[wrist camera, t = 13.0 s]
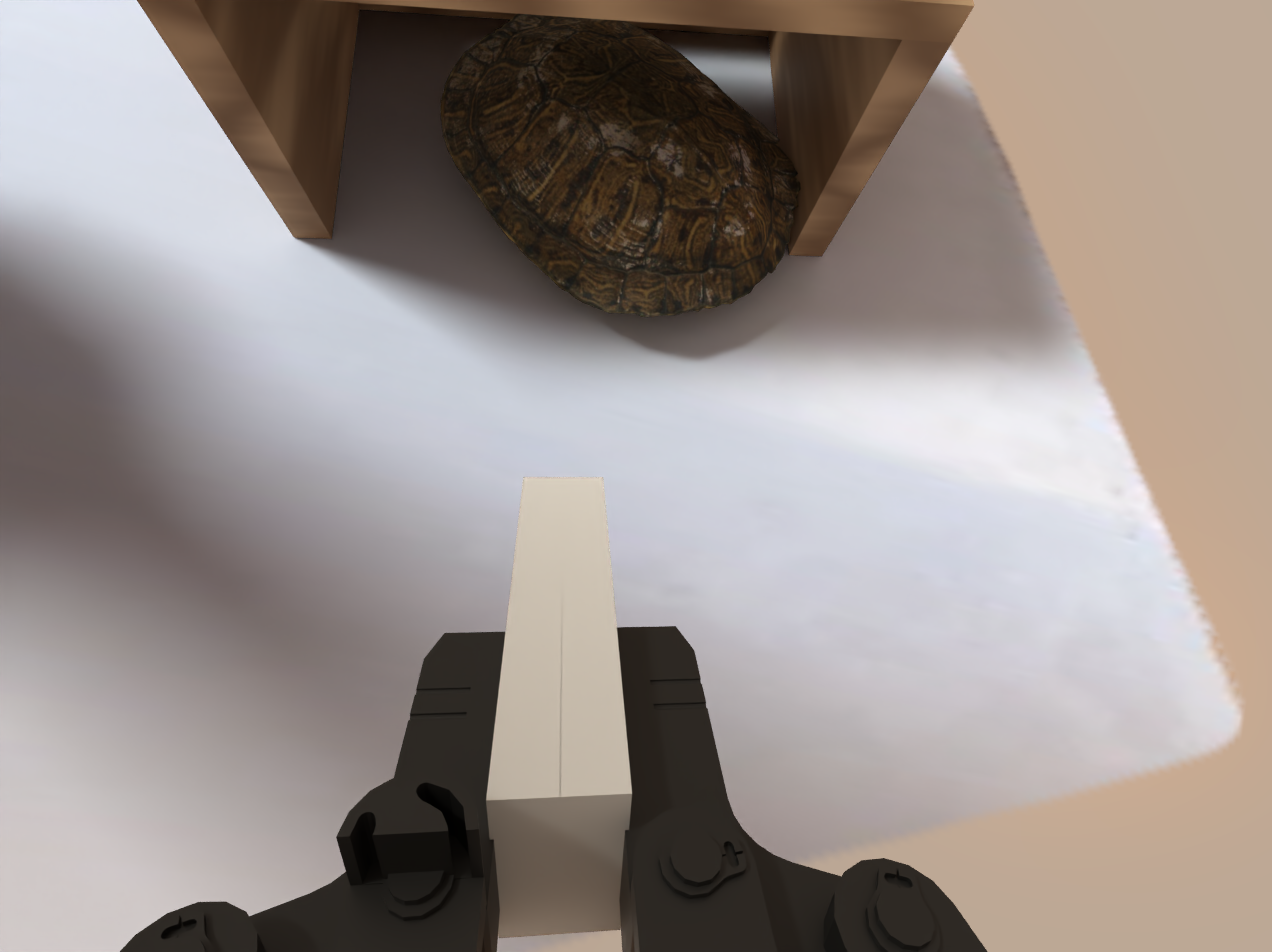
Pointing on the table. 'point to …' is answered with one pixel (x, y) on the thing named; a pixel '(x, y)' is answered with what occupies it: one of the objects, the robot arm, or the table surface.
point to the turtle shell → (618, 165)
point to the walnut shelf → (314, 71)
